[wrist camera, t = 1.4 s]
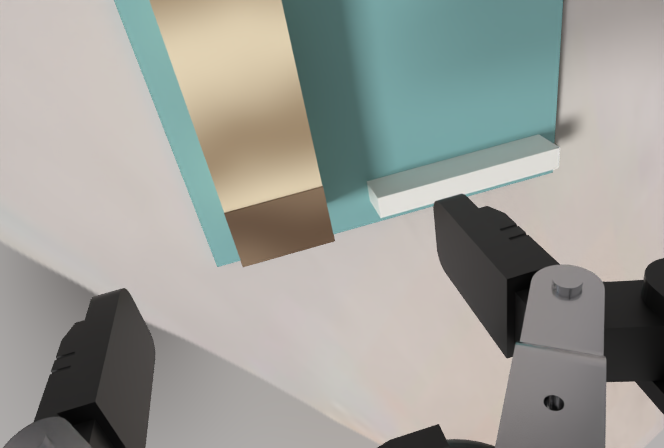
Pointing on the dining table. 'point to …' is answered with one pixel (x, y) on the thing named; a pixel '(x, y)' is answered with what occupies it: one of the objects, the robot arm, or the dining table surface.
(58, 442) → the robot arm
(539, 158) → the pair of grey bars
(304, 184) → the tan rectangular block
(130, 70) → the dining table surface
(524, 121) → the rubber mat
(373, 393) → the dining table surface
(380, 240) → the dining table surface
